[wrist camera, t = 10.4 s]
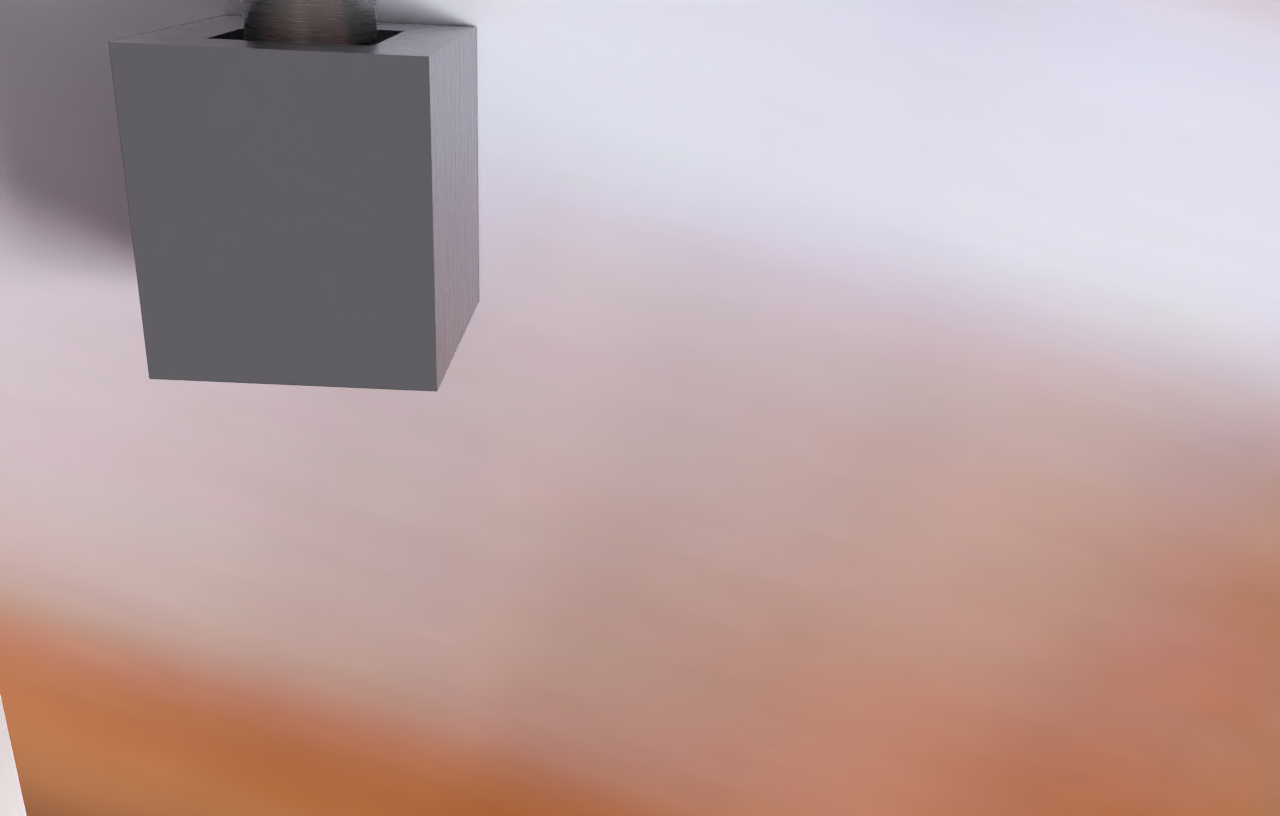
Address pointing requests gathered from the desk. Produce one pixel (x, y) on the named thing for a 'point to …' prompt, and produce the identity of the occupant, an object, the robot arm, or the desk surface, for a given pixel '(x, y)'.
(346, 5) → the metal rod with block
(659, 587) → the desk surface
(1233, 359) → the desk surface
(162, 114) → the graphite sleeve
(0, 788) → the robot arm
